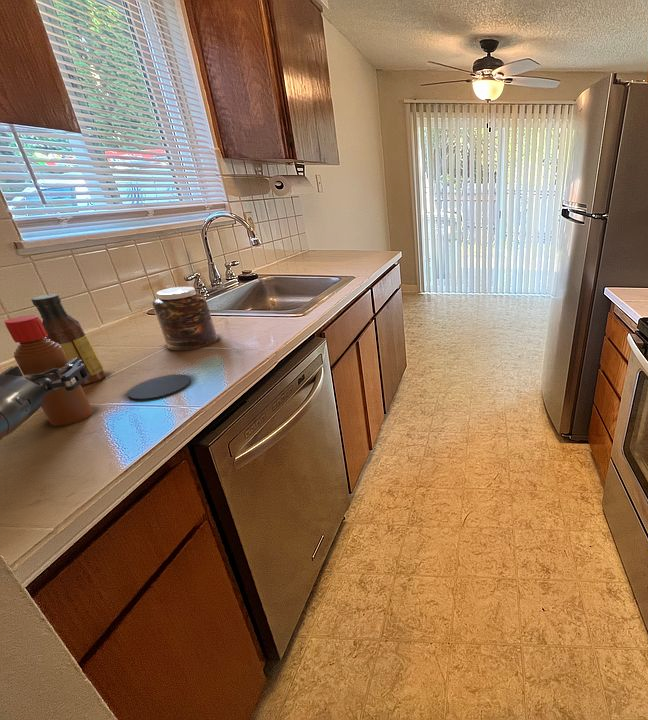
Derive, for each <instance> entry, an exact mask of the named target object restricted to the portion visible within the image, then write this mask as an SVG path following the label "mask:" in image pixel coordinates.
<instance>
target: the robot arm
mask: <svg viewBox="0 0 648 720" xmlns="http://www.w3.org/2000/svg"><path fill="white" fill-rule="evenodd" d="M63 371H66V373H65V374H61V372H63ZM47 374H50V375H51V377H52V379H53V381H52V380H51V379H49V378H48V377H46V376H45V375H47ZM88 377H90V375H89V374H88V372H87V370H86V368H85V365H84V364H83V361H82V360H80V359H79V358H73V359H72V360H70V361H69V362H68V363H67V364H65V366H62V367H59V368H48V369H45V370H42V371H40V372H37V373H34V374H31V373H30V374H27V375H24V374H23V373H22V371H21V369H20V367H19V365H15V366H10V367H8V368H7V369H6V370H4V371H2V372H1V373H0V441H2V440H3V439H4V438H5V437H7V436H9V435H11V434H12V433H14V432H15V431H16V430H17V429H18V428H20V427H21V425H23V424H24V423H25V422H26V421H27V420H28V419H29V418H30V417H32V416H33V415H34V414H35V413H36V412H37V411H39V410H40V408H42V407H41V405H42V403H43V400H44V396H45V395H46V394H47V393H49V392H51V391H53V390H55V389H58V388H60V387H65V389H66V391H71V390H73V389H75V388H76V387H78V386H79V385H80V384H81V383H82V382H84V381H85V380H86V379H87V378H88Z"/></svg>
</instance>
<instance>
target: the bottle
mask: <svg viewBox="0 0 648 720" xmlns="http://www.w3.org/2000/svg"><path fill="white" fill-rule="evenodd" d="M13 358H14V360H15V361H16V364H17V366H18V367H19V369H20V370H21V372H22V374H23V376H24V375H27V374H30V373H31V374H34V373H37V372H40V371H42V370H45V369H48V368H59V367H62V366H65V364H67V363H68V362H69V361H68V359H67V357H66V354H65V352H64V350H63V348H62V346H61V345H59V344H58V343H55V342H54V341H50V339H46V338H42V339H39V340H35V341H30V342H21V343H19V344H18V345H17V348H16V349H15V351H14V352H13ZM65 373H66V371H63V372H61V374H65ZM45 376H46V377H48V378H49V379H51V380H52V381H53V379H52V377H51V375H50V374H47V375H45ZM40 408H41V409H42V411H43V413H44V414H45V417H46V418H47V420H48V422H49V423H50V425H51V426H55V427H59V426H67V425H72V424H74V423H78V422H80V421H83V420H84V419H86V418H88V417H90V416H91V415H93V413H94V410H93V408H92V406H91V404H90V402H89V400H88V397H87V396H86V393H85V391H84V389H83V388H82V385H79V386H78V387H76V388H75V389H73V390H71V391H66V389H65V387H60V388H58V389H55V390H53V391H51V392H49V393H47V394H46V395H45V396H44V400H43V403H42V405H41V407H40Z"/></svg>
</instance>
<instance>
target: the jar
mask: <svg viewBox="0 0 648 720" xmlns="http://www.w3.org/2000/svg"><path fill="white" fill-rule="evenodd" d="M156 296H157V298H156V299H155V300H153V301H152V307H153V308H152V309H153V311H154V314H155V317H156V320H157V322H158V325H159V328H160V331H161V334H162V337H163V339H164V342H165V345H166V347H167V349H169V350H171V351H190V350H191V351H192V350H195V349H196V350H197V349H200V348H204V347H207V346H209V345H212V344H214V343H216V342H217V341H218V339H219V337H218V334H217V331H216V328H215V324H214V321H213V318H212V314H211V312H210V309H209V305H208V303H207V300H206V298H205V297H206V296H204V294H201V293H198V292H197V291H196V288H195V287H193V286H176V287H169V288H164V289H160V290H157V291H156Z"/></svg>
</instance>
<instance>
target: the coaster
mask: <svg viewBox="0 0 648 720" xmlns="http://www.w3.org/2000/svg"><path fill="white" fill-rule="evenodd" d="M191 383H192V379H191V377H190V376H188V375H185V374H171V375H164V376H159V377H155V378H151V379H148V380H146V381H143V382H141V383H139V384H137V385H135V386H133V387H132V388H131V389H130V390H129V391H128V393H127V394H128V398H129V399H130V400H133V401H153V400H159V399H161V398H166V397H169V396H171V395H174V394H177V393H178V392H181V391H182V390H185V389H186V388H188V386H190V385H191Z"/></svg>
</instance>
